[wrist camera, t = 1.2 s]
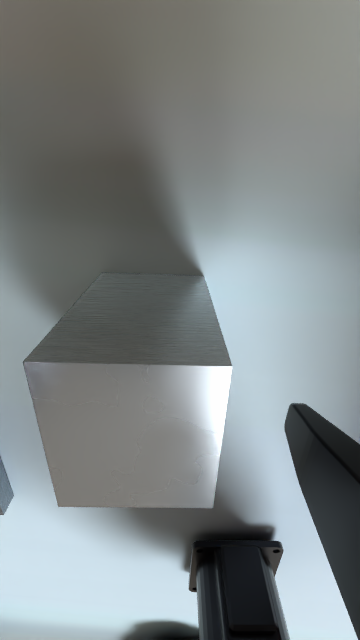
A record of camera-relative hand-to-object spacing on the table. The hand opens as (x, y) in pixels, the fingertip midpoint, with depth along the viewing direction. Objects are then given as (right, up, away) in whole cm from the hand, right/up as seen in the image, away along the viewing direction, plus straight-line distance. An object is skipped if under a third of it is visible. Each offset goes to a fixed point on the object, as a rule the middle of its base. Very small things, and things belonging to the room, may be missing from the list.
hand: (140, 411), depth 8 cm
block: (0, +3, +5) cm, 6 cm away
